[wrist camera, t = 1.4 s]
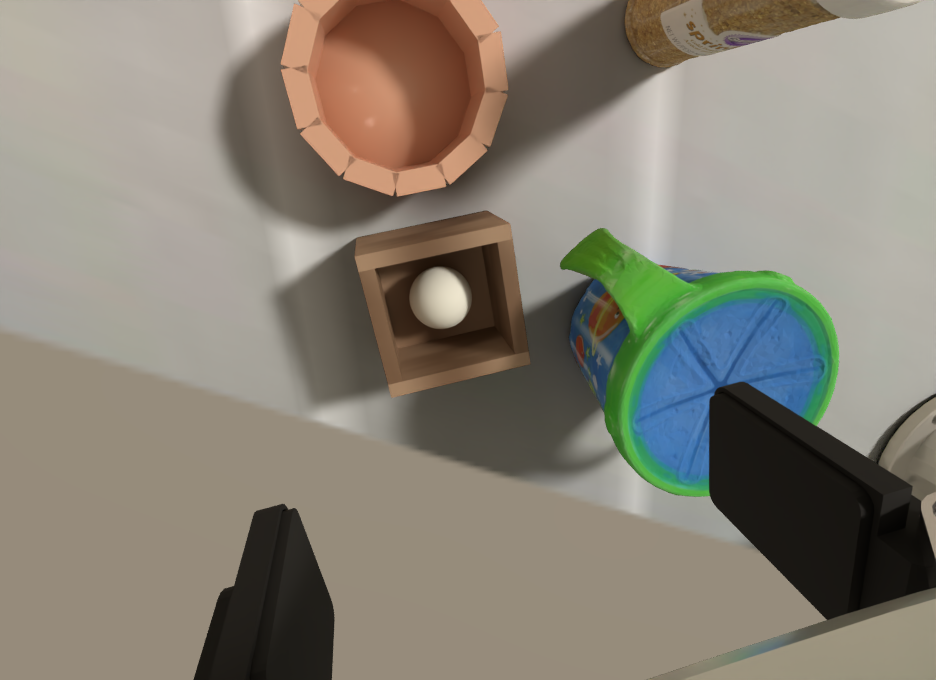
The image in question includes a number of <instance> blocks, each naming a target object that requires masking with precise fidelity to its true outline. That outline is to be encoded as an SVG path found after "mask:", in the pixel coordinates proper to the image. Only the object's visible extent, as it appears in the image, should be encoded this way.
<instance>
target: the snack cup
mask: <svg viewBox="0 0 936 680" xmlns="http://www.w3.org/2000/svg"><path fill="white" fill-rule="evenodd" d="M560 267H561V269H563V270H565V269H568V270H572V271H575V272H578V273H581V274H584V275H586V276H589V277H591V278H593V279H595V280H593V282H592V283H591V284H590V286H589V287H588V288H587V289H586V293H585V294H584V295H583V296H582V298H581V300H580V302H579V304H578V305H577V307H576V309H575V311H574V314H573V317H572V321H571V331H570V335H569V340H570V345H571V349H572V351H573V354H574V356H575V359H576V362H577V364H578V366H579V368H580V370H581V371H582V373H583V375H584V377H585V379H586V380H587V382H588V384H589V386H590V388H591V390H592V392H593V393H594V395H595V397H596V399H597V401H598V402H599V404H600V406H601V408H602V410H603V412H604V414H605V423H606V427H607V430H608V432H609V433H610V434H611V436H612V438H613V441H614V443H615V445H616V447H617V449H618V450H619V452H620V453H621V455H622V456H623V458H624V459H625V460H626V461H627V463H628V464H629V465H630V466H631V467H632V468H633V469H634V470H635V471H636V472H637V473H638V474H639V475H640V476H641V477H642V478H643V479H644V480H646V481H647V482H649V483H650V484H652V485H654V486H655V487H657V488H659V489H662V490H664V491H666V492H668V493H672V494H675V495H682V496H693V497H700V496H710V494H709V401H710V398H711V397H712V396H714V393H715V391H716V389H717V388H719V387H722V386H726V385H730V384H733V383H737V382H746V383H748V384H750V385H751V386H753V387H754V388H756V389H758V390H759V391H761V392H762V393H764V394H766V395H767V396H769V397H770V398H772V399H774V400H775V401H777V402H778V403H780V404H782V405H783V406H785V407H787V408H788V409H790V410H791V411H793V412H795V413H796V414H798V415H799V416H801V417H803V418H804V419H806V420H807V421H809V422H811V423H812V424H814V425H815V426H817V425H818V423H819V422H820V420H821V418H822V417H823V415H824V413H825V411H826V409H827V407H828V404H829V402H830V400H831V397H832V394H833V391H834V387H835V383H836V378H837V373H838V365H839V345H838V340H837V335H836V332H835V328H834V325H833V323H832V319H831V318H830V316H829V314H828V313H827V311H826V310H825V308H824V307H823V306H822V304H821V303H820V302H819V301H818V300H817V299H816V298H815V297H814V296H812V295H811V294H810V293H809V292H807V291H806V290H804V289H803V288H801V287H799V286H797V285H795V284H794V282H793V281H792V279H791V278H790V277H788V276H785V275H782V274H780V273H777V272H773V271H757V272H752V271H734V272H724V273H714V272H706V271H700V270H689V269H685V268H679V267H671V266H663V265H657V264H655V263H654V262H652V261H650V260H649V259H647V258H646V257H644V256H643V255H641V254H639V253H638V252H636V251H635V250H633V249H631V248H630V247H628V246H626V245H624V244H622V243H621V242H620V241H618V240H617V239H615V238H614V237H613V236H612V235H611V234H610V232H609V231H608V230H607V229H605V228H600V229H597V230H596V231H594V232H592V233H591V234H590V235H588V236H587V237H586V238H584V239H583V240H582V241H581V242H579V244H578V245H577V246H576V247H575V248H573V249H572V250H571V251H570V252H569V253H568V254H567V255H566V256H565V257H564V258H563V260H562V261H561V263H560Z"/></svg>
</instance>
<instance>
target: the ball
mask: <svg viewBox="0 0 936 680" xmlns="http://www.w3.org/2000/svg"><path fill="white" fill-rule="evenodd" d="M409 300H410V306H411V309H412V311H413V313H414V315H415V316H416V317H417V319H418V320H419V321H421V322H422V323H423V324H425V325H427V326H428V327H431V328H435V329H446V328H450V327H453V326H455V325H457V324H458V323H460V322H461V321H462V320H463V319H464V318H465V317H466V315H467V314H468V312H469V310H470V307H471V303H472V293H471V288H470V286H469V284H468V282H467V280H466V279H465V277H464V276H463V275H462V274H460V273H459V272H458V271H456V270H454V269H452V268H449V267H443V266H437V267H432V268H429V269H427V270H425V271H423V272H422V273H421V274H419V275H418V276H417V278H416V279H415V280H414V282H413V284H412V286H411V289H410V295H409Z"/></svg>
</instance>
